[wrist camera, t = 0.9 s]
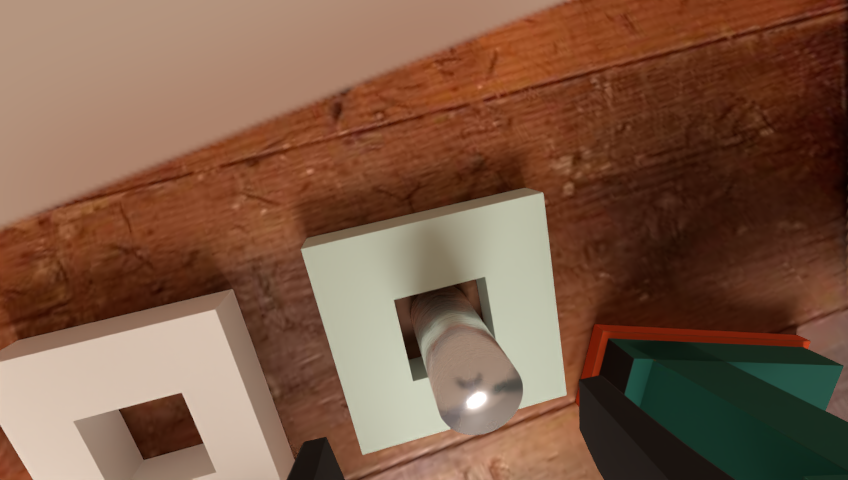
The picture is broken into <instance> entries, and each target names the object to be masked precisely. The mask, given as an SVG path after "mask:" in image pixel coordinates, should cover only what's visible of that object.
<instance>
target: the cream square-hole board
mask: <svg viewBox="0 0 848 480" xmlns="http://www.w3.org/2000/svg"><path fill="white" fill-rule="evenodd" d="M181 392H182V394H183V397H184V399H185V401H186V404H187V406H188V408H189V410H190V413H191V415H192V417H193V420H194V422H195V424H196V427H197V429H198V431H199V433H200V436H201V438H202V440H203V444H200V445H196V446H193V447H189V448H185V449H182V450H178V451H175V452H171V453H167V454H164V455H160V456H157V457H153V458H150V459H146V460H143V458H142V456H141V454H140V452H139V450H138V448H137V446H136V444H135V442H134V440H133V438H132V435H131V433H130V431H129V429H128V427H127V425H126V423H125V421H124V419H123V417H122V415H121V413H120V411H119V409H121V408H125V407H128V406H132V405H136V404H140V403H144V402H147V401H151V400H155V399H159V398H162V397H166V396H170V395H174V394H178V393H181ZM0 425H1V427H2V429H3V430H4V432H5V434H6V435H7V437H8V439H9V440H10V442H11V444H12V445H13V447H14V449H15V450H16V452H17V454H18V455H19V457H20V459H21V460H22V462H23V464H24V465H25V467H26V469H27V470H28V472H29V474H30V475H31V477H32V479H33V480H286V479H287V477H288V475H289V473H290V471H291V468H292V466H293V464H294V462H295V460H294V457H293V454H292V451H291V449H290V446H289V443H288V440H287V437H286V435H285V432H284V429H283V426H282V424H281V421H280V418H279V415H278V413H277V410H276V407H275V404H274V402H273V399H272V396H271V393H270V390H269V388H268V385H267V382H266V379H265V377H264V374H263V371H262V368H261V366H260V363H259V360H258V357H257V354H256V352H255V349H254V346H253V343H252V341H251V338H250V335H249V332H248V330H247V327H246V324H245V321H244V319H243V316H242V313H241V310H240V307H239V305H238V302H237V299H236V296H235V294H234V291H233V289H230V290H226V291H221V292H217V293H213V294H209V295H205V296H201V297H196V298H192V299H188V300H184V301H180V302H176V303H171V304H167V305H163V306H159V307H155V308H151V309H147V310H142V311H138V312H134V313H130V314H126V315H122V316H117V317H113V318H109V319H105V320H101V321H97V322H92V323H88V324H84V325H80V326H76V327H72V328H67V329H63V330H59V331H55V332H51V333H47V334H42V335H38V336H34V337H30V338H26V339H22V340H18V341H16V342H14V343H12V344H11V345H9V346H7V347H6V348H4V349H2V350H0Z"/></svg>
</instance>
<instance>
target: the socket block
mask: <svg viewBox="0 0 848 480" xmlns="http://www.w3.org/2000/svg"><path fill="white" fill-rule="evenodd" d="M301 252H302V255H303V258H304V262H305V265H306V268H307V272H308V275H309V278H310V282H311V285H312V288H313V292H314V295H315V298H316V301H317V305H318V308H319V311H320V315H321V318H322V321H323V325H324V328H325V331H326V335H327V338H328V341H329V345H330V348H331V351H332V355H333V358H334V361H335V365H336V368H337V371H338V375H339V378H340V381H341V385H342V388H343V391H344V395H345V398H346V401H347V405H348V408H349V411H350V415H351V418H352V421H353V425H354V428H355V431H356V435H357V438H358V441H359V445H360V448H361V451H362V455H364V454H368V453H371V452H374V451H378V450H381V449H385V448H388V447H391V446H395V445H398V444H402V443H405V442H408V441H412V440H415V439H419V438H422V437H425V436H429V435H432V434H436V433H439V432H442V431H446V430H449V429H451V428H450V427H449V426H448V425H447V424H446V423H445V422H444V421H443V420H442V418H441V416H440V414H439V411H438V408H437V404H436V401H435V398H434V394H433V391H432V388H431V385H430V381H429V378H428V375H427V371H426V368H425V365H424V361H423V358H422V356H421V357H417V358H413V359H410V360H408V357H407V353H406V349H405V345H404V340H403V336H402V332H401V328H400V324H399V320H398V315H397V311H396V307H395V303H394V300H396V299H399V298H403V297H407V296H411V295H415V294H419V293H423V292H427V291H431V290H435V289H439V288H443V287H447V286H451V285H455V284H459V283H462V282H466V281H470V280H474V279H476V282H477V288H478V293H479V299H480V305H481V311H482V316H483V322H484V324H485V325H486V327H487V328H488V330H489V331H490V333H491V334H492V335H493V337H494V338H495V340H496V341H497V343H498V344H499V345H500V347H501V348H502V350H503V351H504V353H505V354H506V355H507V357H508V358H509V360H510V361H511V363H512V364H513V366H514V367H515V368H516V370H517V371H518V373H519V375H520V377H521V379H522V383H523V396H522V400H521V403H520V406H519V408H518V409H520V408H524V407H527V406H531V405H534V404H537V403H541V402H544V401H548V400H551V399H554V398H558V397H561V396H565V395H567V393H566V385H565V376H564V367H563V359H562V350H561V341H560V333H559V324H558V316H557V307H556V298H555V290H554V281H553V272H552V264H551V255H550V247H549V238H548V229H547V221H546V212H545V203H544V195H543V192H540V191H536V190H532V189H529V188H522V189H517V190H513V191H509V192H504V193H500V194H496V195H491V196H487V197H483V198H478V199H474V200H470V201H465V202H461V203H457V204H452V205H448V206H444V207H439V208H435V209H431V210H426V211H422V212H418V213H413V214H409V215H405V216H401V217H396V218H392V219H388V220H383V221H379V222H375V223H370V224H366V225H362V226H357V227H353V228H349V229H344V230H340V231H336V232H331V233H327V234H323V235H318V236H314V237H310V238H306V240H305V242H304V244H303V246H302V248H301Z"/></svg>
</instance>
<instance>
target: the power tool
mask: <svg viewBox="0 0 848 480" xmlns="http://www.w3.org/2000/svg"><path fill="white" fill-rule="evenodd" d="M810 342H811V341H809V340H807V339H805V338H803V337H800V336H798V335H793V334H774V333H755V332H736V331H717V330H697V329H678V328H659V327H640V326H621V325H602V324H594V328H593V332H592V336H591V340H590V344H589V348H588V352H587V356H586V360H585V364H584V368H583V372H582V376H581V379H584V378H589V377H593V376H597V375H601V376H603V377H604V378H605V379H607V380H608V381H609V382H610V383H611V384H612V385H614V386H615V387H616V388H617V389H618V390H619V391H621V392H622V393H623V394H624V395H625V396H627V397H628V398H629V399H630V400H631V401H632V402H634V403H635V404H636V405H637V406H638V407H640V408H641V409H642V410H643V411H645V412H646V413H647V414H648V415H649V416H651V417H652V418H653V419H654V420H656V421H657V422H658V423H659V424H661V425H662V426H663V427H665V428H666V429H667V430H668V431H670V432H671V433H672V434H674V435H675V436H676V437H677V438H679V439H680V440H681V441H683V442H684V443H685V444H687V445H688V446H689V447H691V448H692V449H693V450H695V451H696V452H697V453H699V454H700V455H701V456H703V457H704V458H706V459H707V460H708V461H710V462H711V463H713V464H714V465H715V466H717V467H718V468H720V469H721V470H722V471H724V472H725V473H727V474H728V475H730V476H731V477H733V478H734V479H736V480H848V422H846V421H844V420H842V419H840V418H838V417H836V416H834V415H832V414H830V413H828V412H826V411H825V410H826V408H827V405H828V403H829V400H830V398H831V396H832V393H833V391H834V388H835V386H836V383H837V381H838V379H839V376H840V374H841V371H842V369H843V365H841V364H839V363H836V362H834V361H832V360H830V359H828V358H826V357H823V356H821V355H819V354H817V353H815V352H813V351H810V350H808V347H809V344H810ZM575 402H576V404H577V405H578V406H579V389H578V393H577V397H576V401H575Z"/></svg>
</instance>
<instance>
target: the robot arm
mask: <svg viewBox="0 0 848 480" xmlns="http://www.w3.org/2000/svg"><path fill="white" fill-rule="evenodd" d="M579 417H580V431H581V433H582V435H583V438H584V440H585V442H586V444H587V447H588V449H589V451H590V453H591V455H592V458H593V460H594V462H595V464H596V466H597V468H598V470H599V471H600V473H601V475H602V477H603V478H604V480H736V479H734V478H733V477H731V476H730V475H728V474H727V473H725V472H724V471H722V470H721V469H720V468H718V467H717V466H715V465H714V464H713V463H711V462H710V461H708V460H707V459H706V458H704V457H703V456H701V455H700V454H699V453H697V452H696V451H695V450H693V449H692V448H691V447H689V446H688V445H687V444H685V443H684V442H683V441H681V440H680V439H679V438H677V437H676V436H675V435H674V434H672V433H671V432H670V431H668V430H667V429H666V428H665V427H663V426H662V425H661V424H659V423H658V422H657V421H656V420H654V419H653V418H652V417H651V416H649V415H648V414H647V413H646V412H645V411H643V410H642V409H641V408H640V407H638V406H637V405H636V404H635V403H634V402H632V401H631V400H630V399H629V398H628V397H627V396H625V395H624V394H623V393H622V392H621V391H619V390H618V389H617V388H616V387H615V386H614V385H612V384H611V383H610V382H609V381H608V380H607V379H605V378H604V377H603V376H601V375H597V376H593V377H589V378H584V379H580V380H579ZM286 480H345V479H344V477H343V474H342V472H341V470H340V467H339V465H338V463H337V461H336V458H335V456H334V454H333V451H332V449H331V447H330V444H329V442H328V440H327V438H326V437H324V438H319V439H315V440H310V441H306V442H304V443H303V445H302V446H301V448H300V451H299V453H298V455H297V457H296V460H295V462H294V464H293V466H292V468H291V471H290V473H289V475H288V477H287V479H286Z"/></svg>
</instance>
